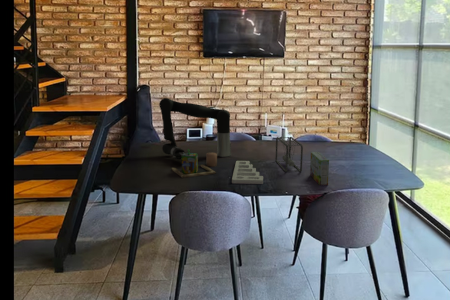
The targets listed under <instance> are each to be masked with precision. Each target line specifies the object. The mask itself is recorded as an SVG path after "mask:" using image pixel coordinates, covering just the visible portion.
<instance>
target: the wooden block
mask: <svg viewBox="0 0 450 300" xmlns="http://www.w3.org/2000/svg"><path fill="white" fill-rule="evenodd" d="M205 155H206V157H205V158H206V160H205V161H206V166H207V167H209V168H210V167H211V168H212V167H213V168H214V167H217V166H218V156H217V152H207V153H206V154H205Z"/></svg>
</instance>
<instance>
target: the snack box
mask: <svg viewBox="0 0 450 300" xmlns="http://www.w3.org/2000/svg"><path fill="white" fill-rule="evenodd" d="M309 163H310V171H309V172H310V173H309V174H310V176H311V178H313V180H314V181H315V182H316V183H317V184H318V186H328V185H329V168H330V160H329V159H328V158H327V157H325V156H324V154H322V153H321V152H319V151H310V162H309Z"/></svg>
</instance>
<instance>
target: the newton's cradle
mask: <svg viewBox="0 0 450 300" xmlns="http://www.w3.org/2000/svg"><path fill="white" fill-rule="evenodd" d="M285 139H288V140H285ZM278 141H280V143H282V146H283V148H285V149H284V153H283V154H284V155H282V160H278V146H279V145H278ZM292 143H293V144H292ZM297 146H298V147H299V146H300V160H299V161H300V164H299V167H298V166H297V165H296V164H295V162H294V160H293V158H294V156H293V155H294V154H295V152H292V151H294V150H295V149H296V147H297ZM293 148H294V150H293ZM303 149H304V146H303V144H302V143H301V142H299V141H298V140H296V139H295V138H293V137H292V136H289V137H280V136H276V138H275V163H276V164H278V166H279V167H280V168H281V169H282V170H283V171H284V172H285V173H287V172H289V173H290V170H288V167H294V168H295V169H296V171H297V172H299V173H302V171H303V155H304V154H303V153H304V152H303V151H304V150H303ZM292 153H293V154H292ZM291 156H292V157H291ZM291 158H292V159H291ZM281 162H282V163H283V162H285V168H284V166H283V165H282V164H281Z"/></svg>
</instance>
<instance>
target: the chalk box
mask: <svg viewBox="0 0 450 300" xmlns="http://www.w3.org/2000/svg"><path fill="white" fill-rule="evenodd" d="M190 151H191V150H190V148H187V152H185V153H184V154H183V155H182V159H181V173H183V174H184V175H186V174H194V173H198V171H199V164H198V163H199V161H198V160H199V156H198V155H199V154H198V153H195V152H194V153H193V152H190Z"/></svg>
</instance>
